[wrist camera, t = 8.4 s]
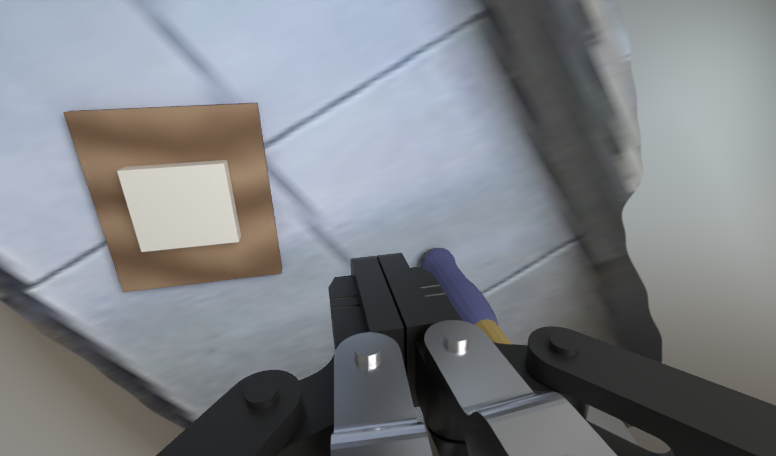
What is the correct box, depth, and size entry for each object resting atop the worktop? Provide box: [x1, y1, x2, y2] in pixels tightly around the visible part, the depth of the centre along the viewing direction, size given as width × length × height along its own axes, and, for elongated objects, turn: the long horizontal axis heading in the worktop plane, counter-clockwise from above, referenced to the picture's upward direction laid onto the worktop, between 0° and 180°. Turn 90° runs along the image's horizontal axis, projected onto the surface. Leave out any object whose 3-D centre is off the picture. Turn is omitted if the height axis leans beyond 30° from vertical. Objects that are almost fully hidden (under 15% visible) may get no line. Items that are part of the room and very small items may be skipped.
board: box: [63, 103, 282, 292], centre depth 39 cm, size 18×16×1 cm
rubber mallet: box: [422, 248, 638, 445], centre depth 34 cm, size 12×8×30 cm, turn 40°
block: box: [117, 160, 241, 252], centre depth 38 cm, size 8×2×9 cm
